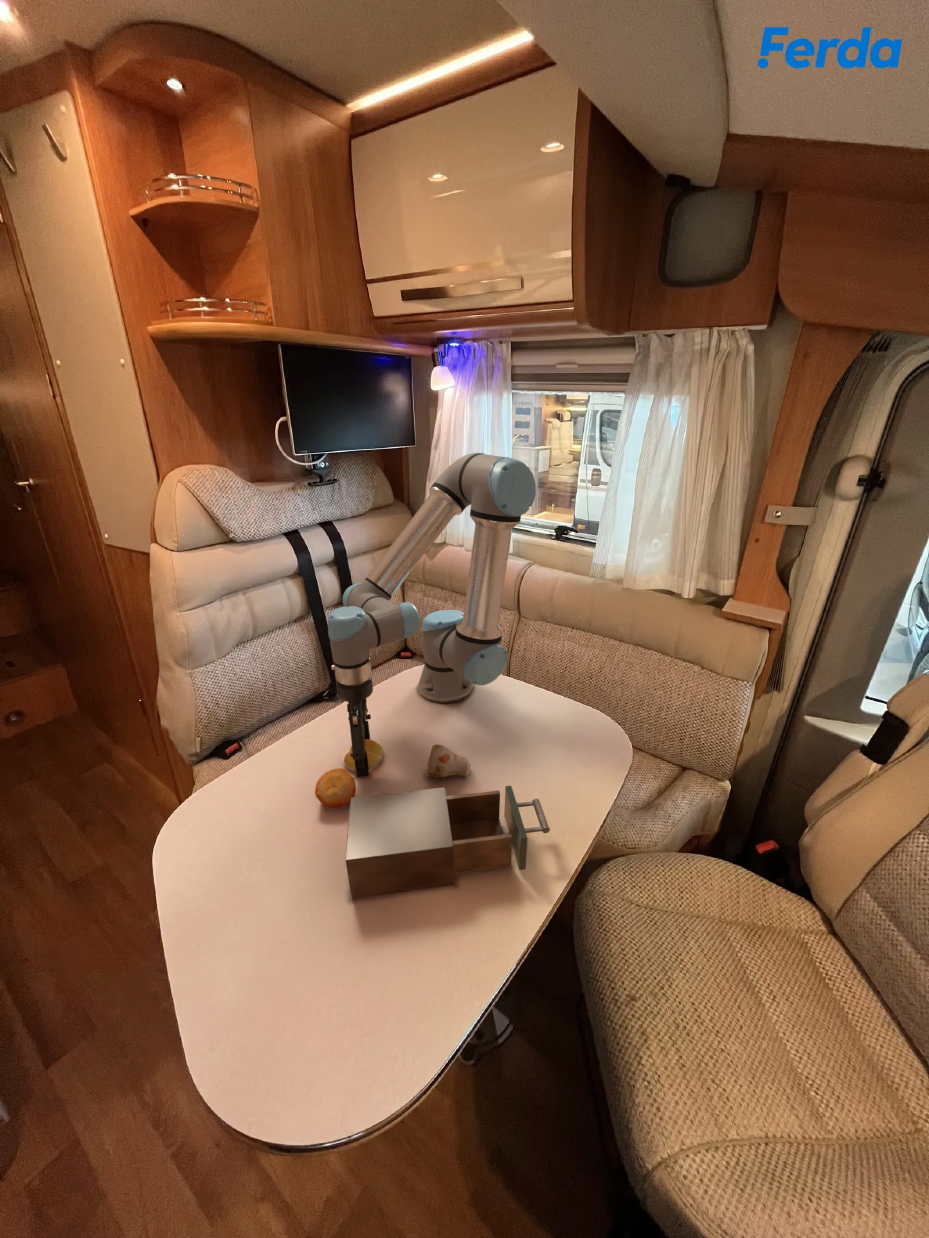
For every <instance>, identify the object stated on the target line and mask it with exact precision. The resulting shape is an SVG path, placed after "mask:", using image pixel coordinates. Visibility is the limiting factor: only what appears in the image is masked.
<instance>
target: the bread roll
mask: <svg viewBox="0 0 929 1238" xmlns="http://www.w3.org/2000/svg"><path fill="white" fill-rule="evenodd" d="M365 751H367V758H368V767H369V771H370V770H374V769H375V768H376V767H377V766H378V765H379V764H380V763H381V761H382V758H383V757H384V748H383V747H382V745H381V744H380V743H379V742H377V741H376V740H373V739H371V738H370V739H365ZM351 753H352V745H351V747H350V749H349V751H348V752H347V753H346V754H345V755H344V758H343V762H344V764H345V766H346V767H347V768H348V769H349V770H350V771H352V772H355V773H356V767H355V760H353V758H352V757H350V754H351Z"/></svg>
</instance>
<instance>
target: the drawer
mask: <svg viewBox="0 0 929 1238" xmlns="http://www.w3.org/2000/svg"><path fill="white" fill-rule="evenodd" d="M446 798H447V805H448V812H449V819H450V826H451V833H452V840H453V847H454V875H456V874H463V873H464V874H465V873H470V872H471V873H472V872H478V871H486V870H494V869H502V868H508V867H511V866H512V851H513V854H514V857H515V861H516V865H517V867H518V871H523V870H526V868H527V867H526V866H527V853H528V835H527V834H531V833H532V834H533V833H540V832H542V833H543V834H548V833H550V830H551V829H550V828H551V827H550V826H549V824H548V821H547V817H546V815H545V812H544V810H543V807H542V804H541V801H540V799H539V798H534V799H533V800H531V801H522V802H517V799H516V796H515V793H514V790H513V787H512V785H505V786H504V807H503V809H504V813H503V816H504V819H505V824H506V827H507V831H508V833H507V834H504V830H503V827H502V823H501V820H500V814H501V813H500V812H501V811H500V809H501V808H500V807H501V792H500V790H491V791H481V792H474V793H464V794H457V795H446ZM524 807H533V809H534V811H535V814H536V818H537V820H538V823H539V826H534V827H525V826H524V822H523V819H522V815H521V813H520V810H519V809H520V808H524ZM512 849H513V850H512Z"/></svg>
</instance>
